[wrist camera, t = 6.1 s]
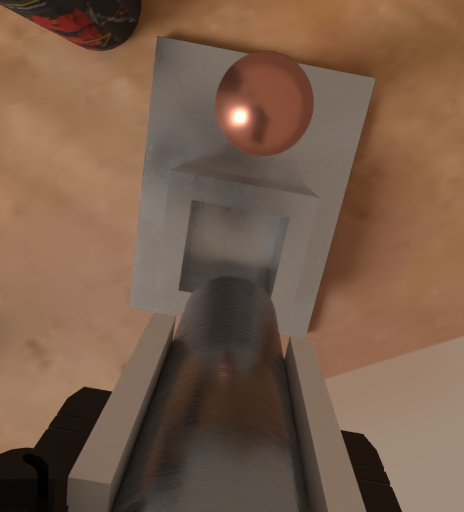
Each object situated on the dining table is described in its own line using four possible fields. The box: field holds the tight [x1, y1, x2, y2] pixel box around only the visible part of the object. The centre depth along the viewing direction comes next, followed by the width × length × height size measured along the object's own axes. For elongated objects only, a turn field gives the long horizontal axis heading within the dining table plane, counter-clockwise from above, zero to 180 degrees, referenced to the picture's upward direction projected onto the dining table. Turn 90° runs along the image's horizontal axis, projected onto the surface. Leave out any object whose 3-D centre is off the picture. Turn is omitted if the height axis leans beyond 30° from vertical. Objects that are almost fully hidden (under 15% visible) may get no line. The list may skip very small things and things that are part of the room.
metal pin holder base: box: [129, 36, 376, 338], centre depth 23 cm, size 19×14×11 cm
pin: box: [112, 276, 309, 512], centre depth 10 cm, size 4×4×14 cm
